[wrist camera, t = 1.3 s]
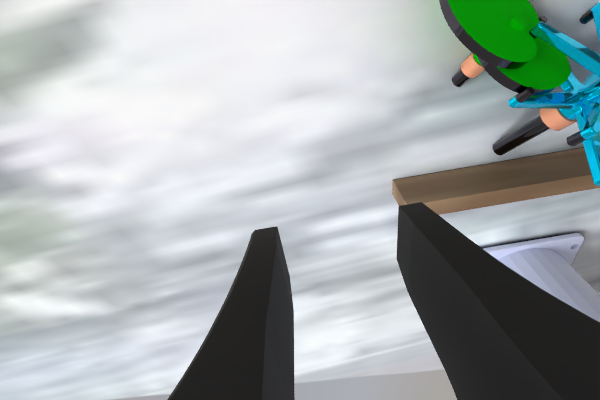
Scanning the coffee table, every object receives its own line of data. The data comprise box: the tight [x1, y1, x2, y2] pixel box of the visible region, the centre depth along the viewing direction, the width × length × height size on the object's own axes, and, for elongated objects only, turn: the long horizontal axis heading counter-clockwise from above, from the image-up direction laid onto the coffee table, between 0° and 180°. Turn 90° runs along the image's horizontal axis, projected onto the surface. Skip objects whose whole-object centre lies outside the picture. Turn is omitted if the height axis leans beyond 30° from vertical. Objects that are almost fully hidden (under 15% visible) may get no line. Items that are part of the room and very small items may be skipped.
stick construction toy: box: [439, 0, 600, 186], centre depth 16 cm, size 12×7×8 cm
